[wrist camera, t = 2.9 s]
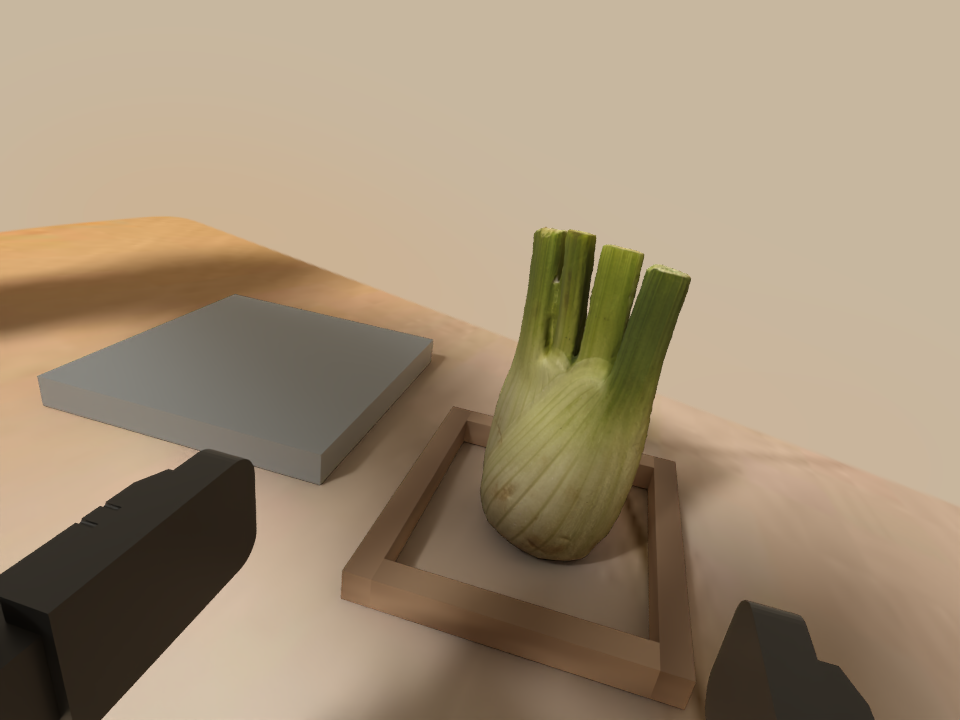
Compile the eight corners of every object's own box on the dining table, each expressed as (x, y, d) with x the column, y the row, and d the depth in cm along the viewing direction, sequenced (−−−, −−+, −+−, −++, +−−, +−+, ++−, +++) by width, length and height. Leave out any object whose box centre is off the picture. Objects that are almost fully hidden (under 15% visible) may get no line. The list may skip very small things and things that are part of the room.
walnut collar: (340, 598, 19) (342, 570, 18) (450, 426, 30) (453, 406, 29) (684, 709, 17) (696, 682, 16) (668, 482, 28) (675, 462, 27)
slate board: (43, 405, 27) (37, 376, 26) (235, 315, 39) (234, 293, 39) (320, 484, 24) (320, 454, 23) (430, 361, 37) (433, 339, 36)
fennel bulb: (623, 578, 22) (721, 265, 17) (499, 593, 20) (566, 255, 15) (562, 483, 27) (623, 221, 22) (459, 489, 25) (500, 210, 20)
